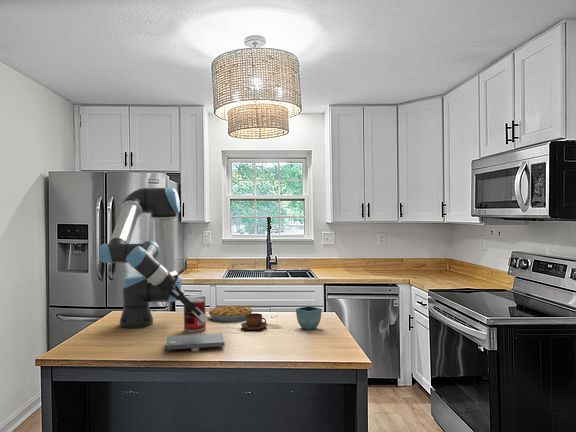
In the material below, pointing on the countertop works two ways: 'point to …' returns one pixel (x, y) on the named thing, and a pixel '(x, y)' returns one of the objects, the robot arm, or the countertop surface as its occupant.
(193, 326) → the canned food
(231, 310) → the pie
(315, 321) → the flower pot
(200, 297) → the skincare box
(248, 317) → the cup and saucer
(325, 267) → the countertop surface
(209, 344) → the plate
